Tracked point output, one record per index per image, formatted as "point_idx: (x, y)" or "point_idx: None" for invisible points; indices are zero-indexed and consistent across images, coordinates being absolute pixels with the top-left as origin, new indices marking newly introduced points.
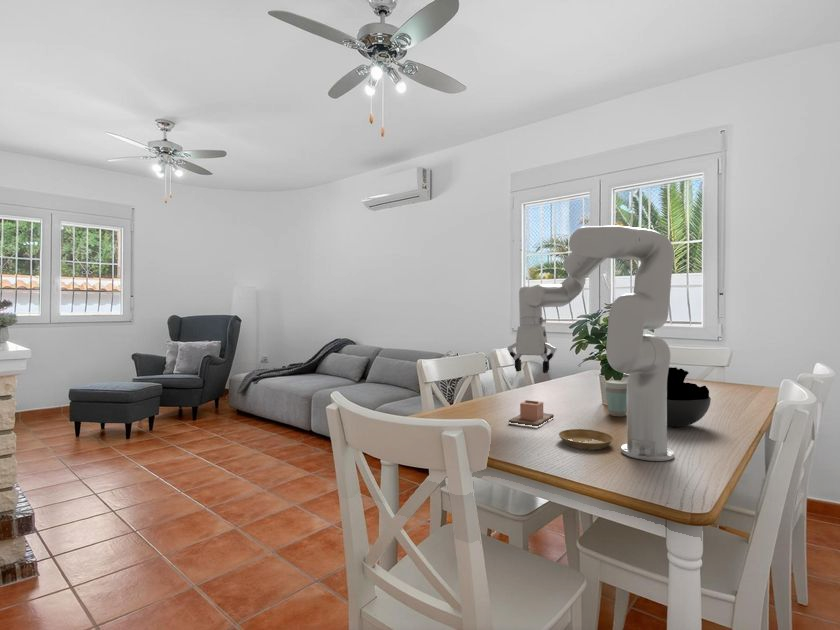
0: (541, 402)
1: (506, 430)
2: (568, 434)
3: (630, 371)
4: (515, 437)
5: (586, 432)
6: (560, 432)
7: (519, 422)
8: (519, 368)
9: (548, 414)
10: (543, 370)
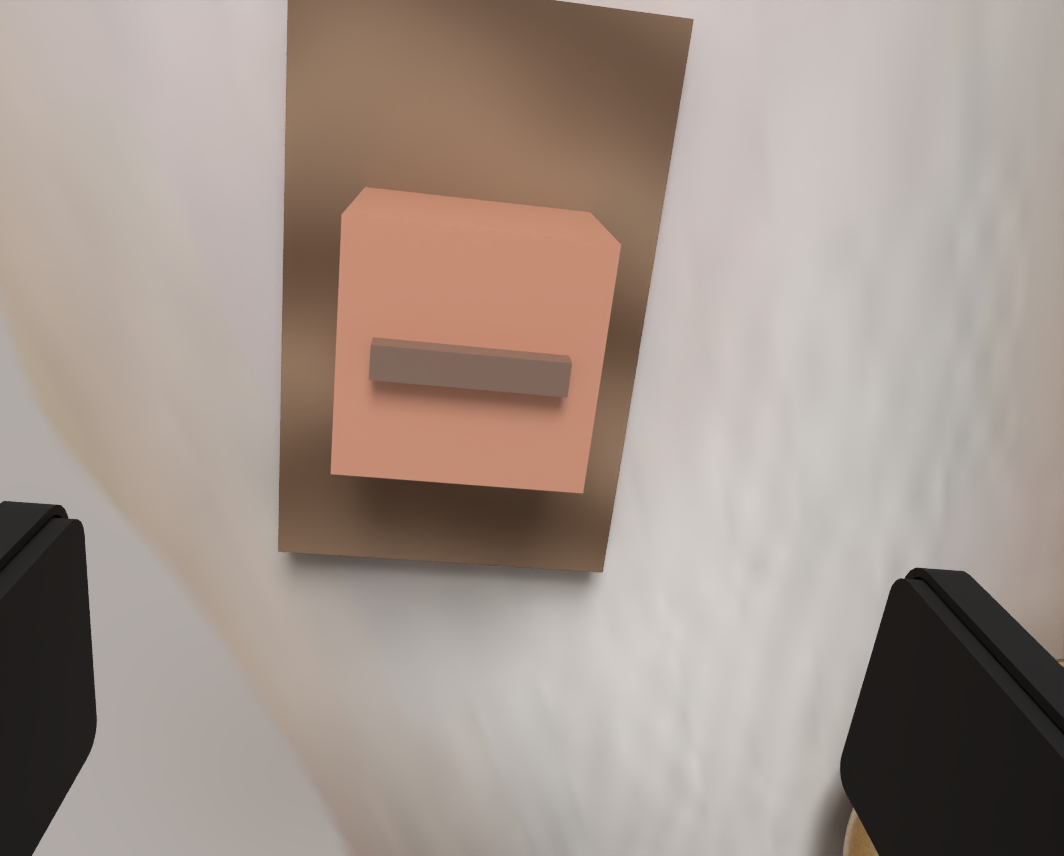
0: (600, 280)
1: (351, 717)
2: None
3: None
4: (493, 852)
5: None
6: (853, 825)
7: (404, 555)
8: (56, 678)
9: (628, 58)
10: (880, 830)
